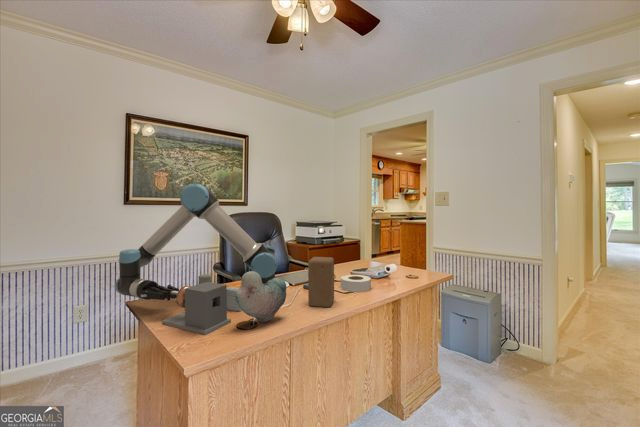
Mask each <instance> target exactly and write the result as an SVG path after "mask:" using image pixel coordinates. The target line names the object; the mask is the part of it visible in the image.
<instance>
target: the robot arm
mask: <svg viewBox="0 0 640 427" xmlns="http://www.w3.org/2000/svg"><path fill="white" fill-rule="evenodd" d="M179 200H180V203H181V206H180V207H179V208H178V209H177V210H176V211H175V212H174V214H173V213H172V215H171V216H170V217H169V218H168V219H167V220H165V222H163V224H162V225H161V226H160V227H159V228H158V229H157V230H156V231H155V232H154V233H153V234H152V235H151V236H150V237H149V238H148V239H147V240H146V241H145V242H144V243H143V244H142V245H141V246H139V248H130V249H122V250H120V251H119V257H118V262H119V278H117V280H116V281H115V284H114V290H115V291H116V292H117V293H118V294H121V295H122V296H129V297H133V298H138V299H139V300H146V301H147V300H149V301H150V300H159V301H160V300H161V301H164V300H165V299H166V301H167V302H169V301H171V300H176V296H177V293H178V291H179V290H180V288H178V287H174V286H172V285H171V284H167V285H166V286H163V285H160V284H158V283H157V281H154V280H150V279H149V280H148V279H143V278H141V268H143V267H144V266H147V265H149V264H150V263H151V262H152V261H153V260H154V257H156V255H158V253H160V252H161V250H163V249H164V248H165V247H166V245H168V244H169V243H170V242H171V241H172V240H173V239H174V238H175V237H176V236H177V235H178V234H179V233H180V231H182V230H183V228H185V227H186V226H188V225H187V224H188V223H190V221H192V220H193V219H194V218H197V219H199V220H205V221H206V222H207V223H208V224H209V225H210V226H211V227H212V228H213V229H214V230H215V231H216V232H217V233H218V234H219V235H221V237H222V238H224V239H225V241H227V243H228V244H229V245H231V246H232V247H233V248H234V249H235V250H236V251H237V252H238V253H239V254H240V255H241V256H242V258H243V259H242V261H243V263H244V264H245V265H246V266H247V267H248V268H249V269H250V270H251V271H254V272H257V273H258V274H259V275H260V277H261V280H262V283H263V284H266V283H267V282H268V281H269V280H272V279H273V278H277V277H276V273H275V272H276V271H277V268H278V260H277V258H276V256H275V255H276V254H275V252H276V249H275V246H274V245H264V244H263V243H262V242H256V241H255V240H254V238H252V237H251V236H250V235H249V234H248V233H247V232H246V231H245V230H244V229H243V228H242V227H241V226H240V225H239V224H238V223H237V222H236V221H235V220H234V219H233V218H232V217H231V216H230V215H229V214H228V213H227V212H226V210H224V209H223V208H222V207H221V206H220V201H219V200H218V198H217V197H216V196H215V195H214V194H213V193H212V191H211V189H210V188H208V187H207V186H205V185H203V184H200V183H190V184H188V185H186V186H184V188H182V190H181V192H180V194H179Z"/></svg>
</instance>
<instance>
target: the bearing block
mask: <svg viewBox="0 0 640 427" xmlns="http://www.w3.org/2000/svg"><path fill="white" fill-rule="evenodd" d="M191 286H192V287H188V288H185V308H184V312H181V313H179V314H175V315H173V316H170V317H168V318H165V319H163V320H162V321H161V323H162V325H166V326H169V327H173V328H177V329H181V330H185V331H189V332H193V333H197V334H200V335H204V336H206V335H208V334H210V333H212V332H215V331H217V330H219V329H221V328H222V327H224V326H226V325H228V324H230V323H232V318H228V312H227V311H228V310H227V288H228V287H227V284H223V283H215V282H212V283H210V282H205V283H202V284H199V283H198V284H195V285H191ZM213 298H215V304H214V305H213Z"/></svg>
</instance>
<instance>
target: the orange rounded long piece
mask: <svg viewBox="0 0 640 427" xmlns="http://www.w3.org/2000/svg"><path fill="white" fill-rule="evenodd" d="M192 286H193V285H184V286H182V287H181V288H179V291H178V293H177V296H176V299H175V301H176V302H175V303H176V305H177V306H178V307H179V308H184V309H185V288H188V287H192ZM214 304H215V298H213V305H214Z"/></svg>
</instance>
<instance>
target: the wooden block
mask: <svg viewBox="0 0 640 427" xmlns="http://www.w3.org/2000/svg"><path fill="white" fill-rule="evenodd" d="M307 264H308V266H307V267H308V268H307V269H308V270H307V272H308V273H307V274H308V275H307V276H308V277H307V278H308V280H307V281H308V287H307V288H308V294H307V296H308V297H307V298H308V306H309V307H318V308H319V307H321V308H330V307H331V306H333V305H332V304H333V302H334V301H335V259H334V258H333V257H330V256H329V257H328V256H327V257H325V256H313V257H312V258H310V259H309V260H308V262H307Z"/></svg>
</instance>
